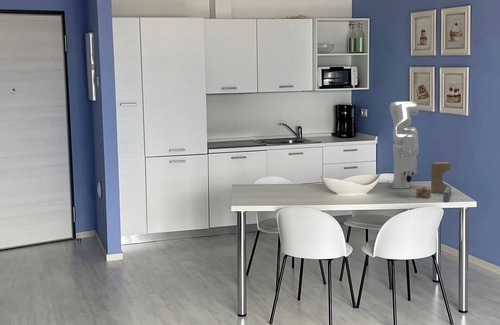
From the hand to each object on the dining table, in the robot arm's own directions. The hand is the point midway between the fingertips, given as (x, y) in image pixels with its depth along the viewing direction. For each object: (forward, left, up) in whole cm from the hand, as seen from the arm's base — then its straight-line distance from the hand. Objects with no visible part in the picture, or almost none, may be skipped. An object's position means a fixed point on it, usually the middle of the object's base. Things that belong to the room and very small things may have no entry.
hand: (408, 182), depth 451 cm
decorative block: (+18, +20, -10) cm, 29 cm away
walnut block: (+9, +1, -10) cm, 13 cm away
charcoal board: (+24, +1, -9) cm, 26 cm away
